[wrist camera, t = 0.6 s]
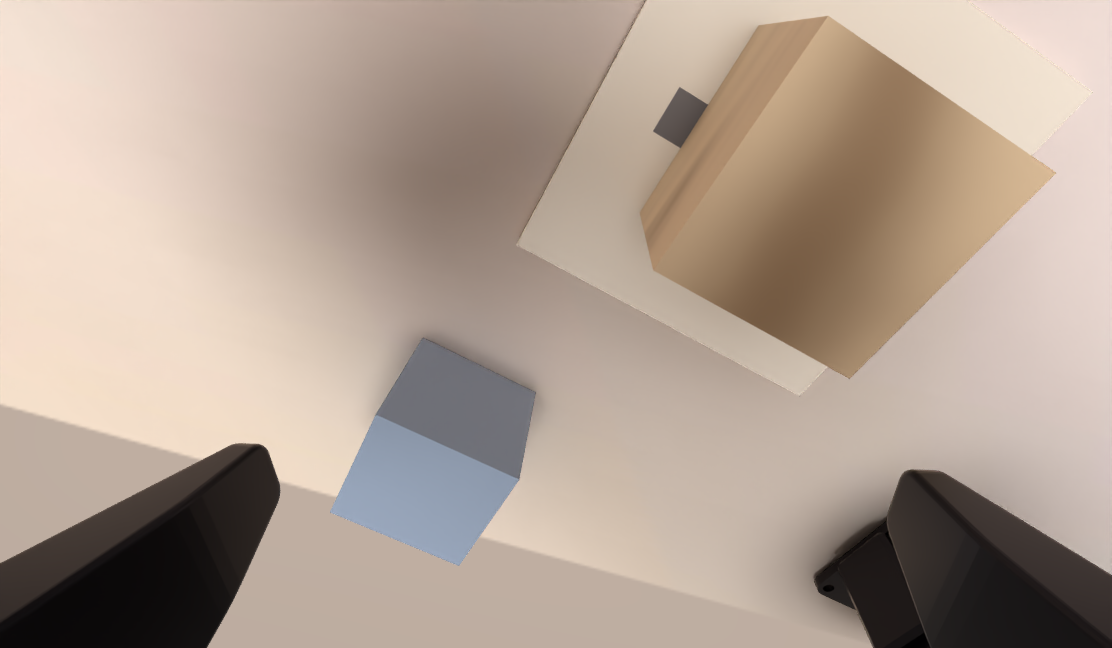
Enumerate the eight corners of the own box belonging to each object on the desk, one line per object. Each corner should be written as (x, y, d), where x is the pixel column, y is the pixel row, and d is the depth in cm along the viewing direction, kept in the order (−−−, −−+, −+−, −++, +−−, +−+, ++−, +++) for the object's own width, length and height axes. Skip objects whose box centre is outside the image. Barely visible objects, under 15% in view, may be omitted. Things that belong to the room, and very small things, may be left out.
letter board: (1075, 90, 15) (1093, 92, 15) (794, 387, 20) (799, 396, 20) (731, -161, 13) (737, -171, 13) (519, 239, 18) (516, 245, 18)
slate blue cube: (535, 391, 22) (519, 479, 17) (485, 469, 24) (458, 565, 19) (423, 336, 21) (375, 414, 16) (381, 422, 23) (329, 512, 19)
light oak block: (925, 136, 15) (1056, 172, 11) (788, 297, 18) (849, 378, 14) (758, 25, 14) (828, 15, 10) (639, 212, 17) (653, 270, 13)
